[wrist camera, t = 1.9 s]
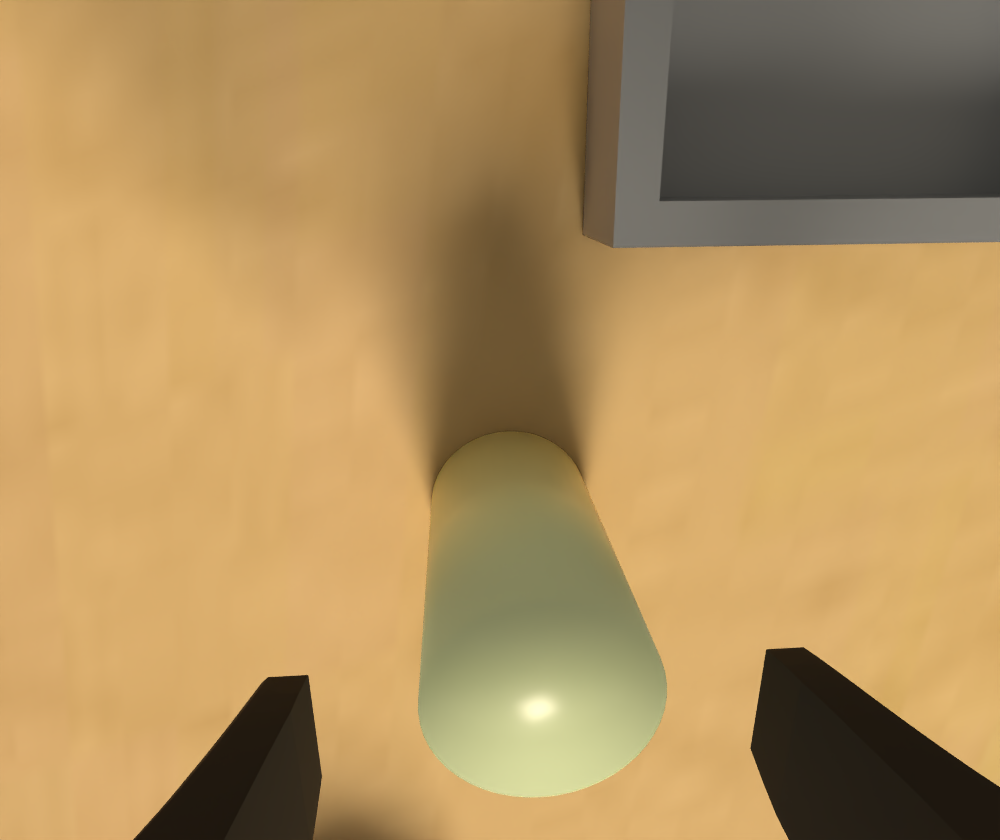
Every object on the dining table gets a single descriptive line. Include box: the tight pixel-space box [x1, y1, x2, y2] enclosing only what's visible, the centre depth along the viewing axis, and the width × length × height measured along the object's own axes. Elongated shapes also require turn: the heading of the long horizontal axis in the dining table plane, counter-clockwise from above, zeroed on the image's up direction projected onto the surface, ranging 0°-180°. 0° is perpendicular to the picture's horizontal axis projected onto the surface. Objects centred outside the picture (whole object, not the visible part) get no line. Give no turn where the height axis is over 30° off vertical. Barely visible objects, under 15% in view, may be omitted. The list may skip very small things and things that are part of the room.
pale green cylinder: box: [418, 431, 667, 797], centre depth 14 cm, size 4×4×7 cm
